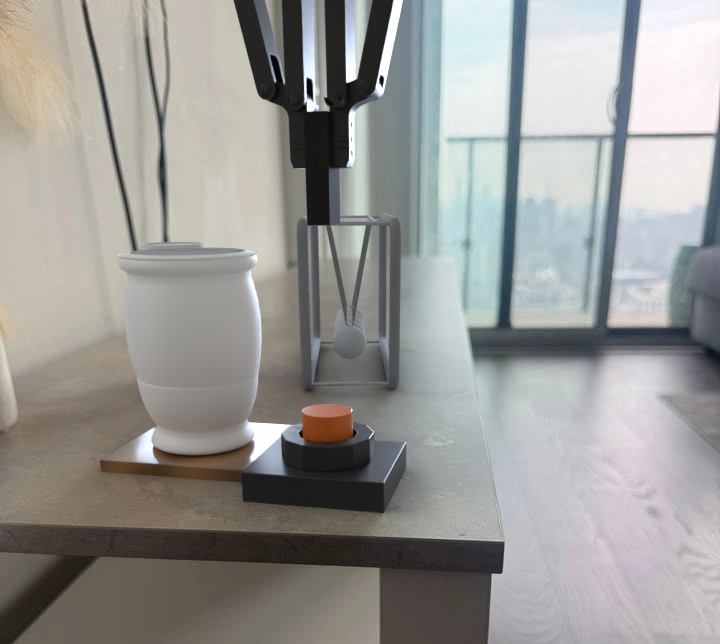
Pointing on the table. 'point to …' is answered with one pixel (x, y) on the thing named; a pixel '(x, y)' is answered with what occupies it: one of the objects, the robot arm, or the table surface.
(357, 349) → the newton's cradle
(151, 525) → the table surface
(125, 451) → the plate
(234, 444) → the jar
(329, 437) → the button
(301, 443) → the switch block
